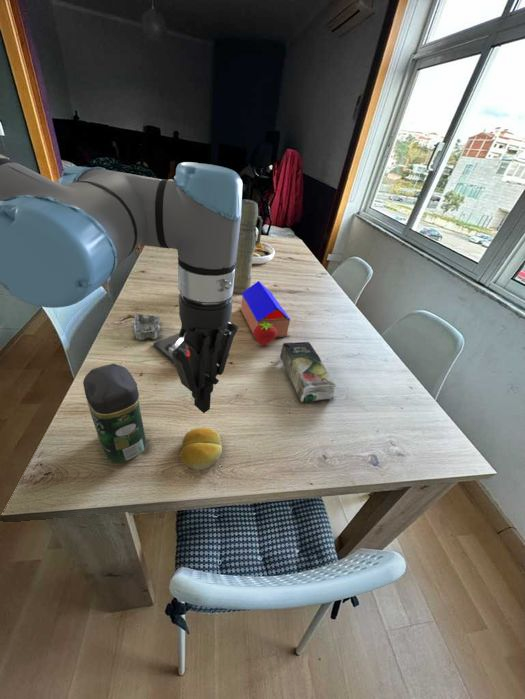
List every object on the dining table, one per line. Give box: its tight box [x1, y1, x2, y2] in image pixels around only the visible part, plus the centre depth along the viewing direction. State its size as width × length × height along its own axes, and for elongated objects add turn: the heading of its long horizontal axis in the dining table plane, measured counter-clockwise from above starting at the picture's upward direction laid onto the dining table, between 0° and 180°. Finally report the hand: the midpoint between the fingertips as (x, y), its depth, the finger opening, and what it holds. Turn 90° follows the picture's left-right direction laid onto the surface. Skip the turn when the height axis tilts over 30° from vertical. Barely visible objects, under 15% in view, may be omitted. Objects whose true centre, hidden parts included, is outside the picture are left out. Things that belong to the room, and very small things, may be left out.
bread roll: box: [179, 427, 223, 470], centre depth 60 cm, size 8×9×4 cm
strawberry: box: [253, 321, 277, 347], centre depth 92 cm, size 6×8×10 cm
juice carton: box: [279, 341, 337, 403], centre depth 84 cm, size 20×10×6 cm, turn 15°
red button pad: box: [153, 332, 190, 365], centre depth 87 cm, size 16×14×3 cm
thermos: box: [233, 198, 264, 295], centre depth 116 cm, size 9×12×35 cm
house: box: [240, 280, 291, 338], centre depth 104 cm, size 12×20×12 cm, turn 18°
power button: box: [186, 350, 190, 361], centre depth 80 cm, size 3×3×2 cm
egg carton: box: [133, 312, 161, 341], centre depth 91 cm, size 11×8×4 cm
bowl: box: [252, 241, 276, 265], centre depth 159 cm, size 30×30×8 cm
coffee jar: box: [82, 363, 147, 464], centre depth 55 cm, size 10×8×19 cm
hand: (202, 407), depth 55 cm, fingers closed
